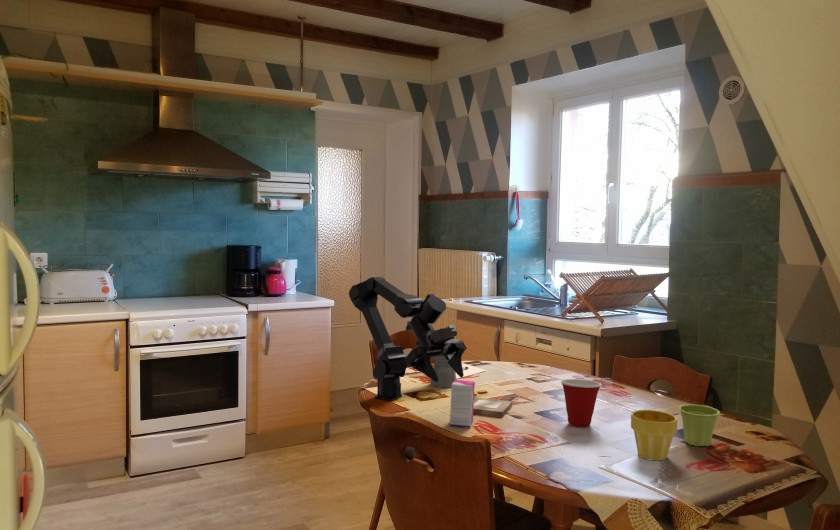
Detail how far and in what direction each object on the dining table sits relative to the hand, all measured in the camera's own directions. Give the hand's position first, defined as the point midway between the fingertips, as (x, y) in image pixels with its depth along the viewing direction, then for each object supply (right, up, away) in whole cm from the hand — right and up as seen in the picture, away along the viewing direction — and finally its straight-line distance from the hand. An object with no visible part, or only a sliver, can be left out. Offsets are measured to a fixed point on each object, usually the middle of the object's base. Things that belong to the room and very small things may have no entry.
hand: (450, 379), depth 184 cm
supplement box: (+3, -12, -3) cm, 13 cm away
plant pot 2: (+62, -14, -15) cm, 65 cm away
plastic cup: (+35, -12, -1) cm, 37 cm away
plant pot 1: (+47, -14, -25) cm, 55 cm away
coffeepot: (-1, -9, +40) cm, 41 cm away
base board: (+11, -11, +12) cm, 20 cm away
